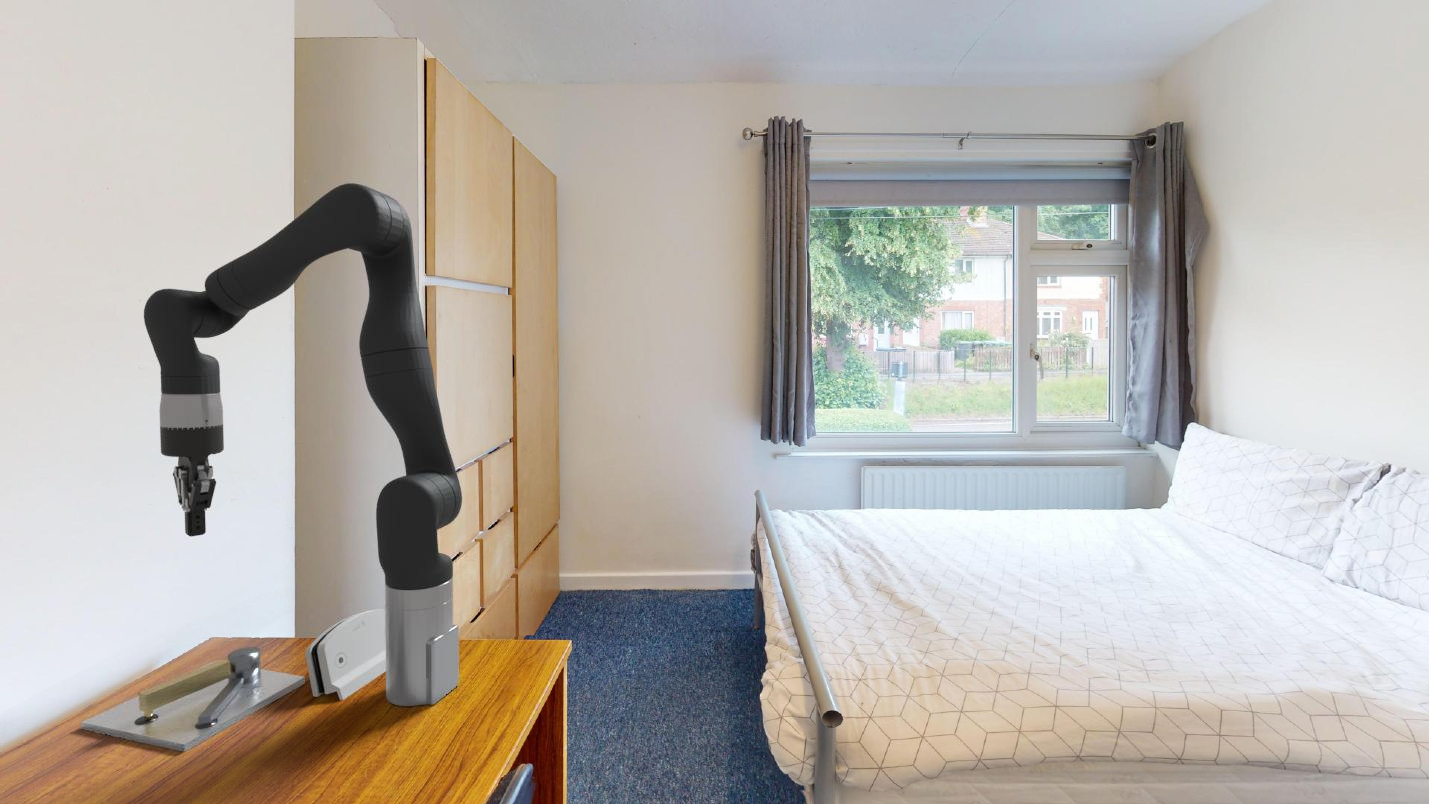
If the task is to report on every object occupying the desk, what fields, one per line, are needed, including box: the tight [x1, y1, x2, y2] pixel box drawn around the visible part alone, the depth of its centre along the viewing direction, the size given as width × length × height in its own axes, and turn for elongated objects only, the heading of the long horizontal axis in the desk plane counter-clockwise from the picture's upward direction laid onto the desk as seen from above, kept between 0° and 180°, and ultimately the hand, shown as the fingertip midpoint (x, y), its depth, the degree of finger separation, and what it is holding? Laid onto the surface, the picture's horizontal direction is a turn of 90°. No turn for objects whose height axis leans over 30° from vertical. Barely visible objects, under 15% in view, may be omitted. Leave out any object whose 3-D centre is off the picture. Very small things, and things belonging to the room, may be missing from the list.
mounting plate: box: [80, 646, 306, 753], centre depth 93 cm, size 18×18×5 cm
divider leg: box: [138, 658, 231, 720], centre depth 91 cm, size 10×2×4 cm, turn 159°
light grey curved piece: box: [304, 608, 386, 701], centre depth 104 cm, size 17×5×10 cm, turn 168°
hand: (195, 534), depth 100 cm, fingers closed
